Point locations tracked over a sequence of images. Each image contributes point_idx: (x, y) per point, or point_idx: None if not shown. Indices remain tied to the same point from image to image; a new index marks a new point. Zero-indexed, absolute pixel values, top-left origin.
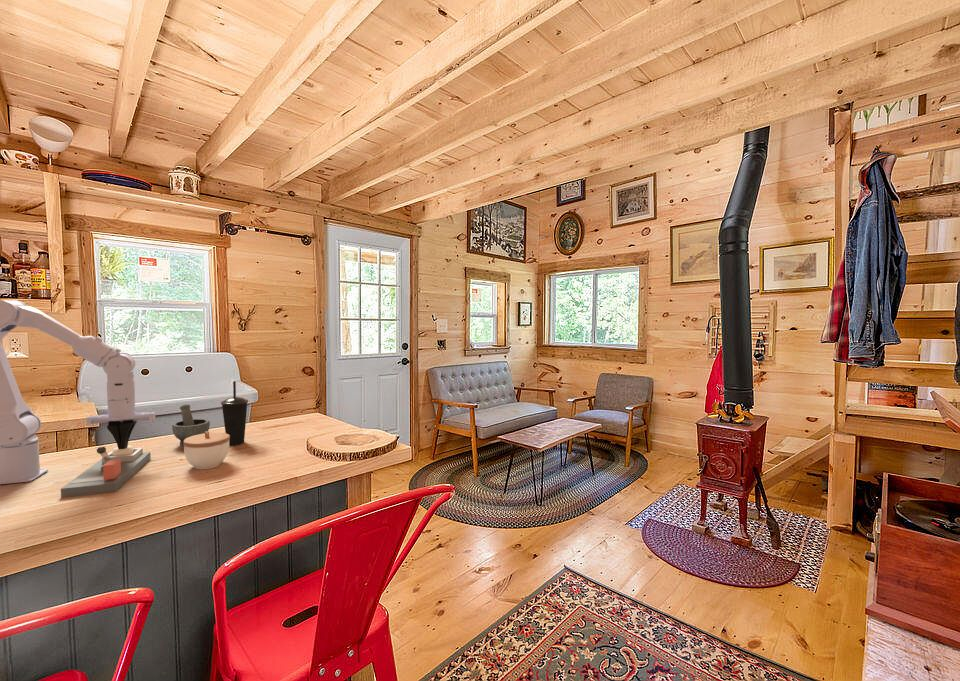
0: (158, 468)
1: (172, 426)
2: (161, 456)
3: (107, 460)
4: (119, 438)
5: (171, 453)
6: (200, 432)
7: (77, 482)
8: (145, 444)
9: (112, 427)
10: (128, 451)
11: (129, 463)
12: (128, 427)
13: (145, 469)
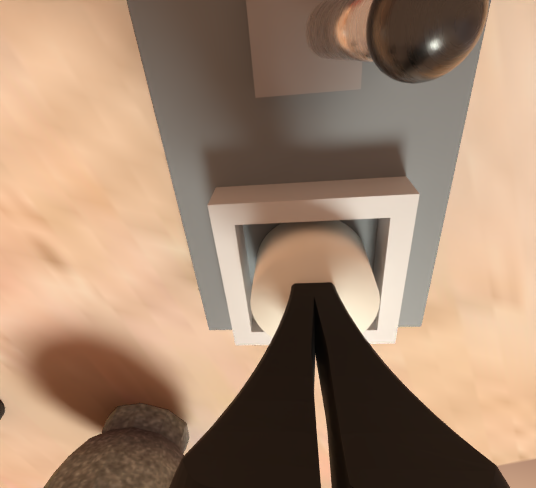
0: (72, 127)
1: None
2: (183, 322)
3: (326, 1)
4: (326, 346)
5: (161, 348)
6: (59, 467)
7: None
8: (324, 456)
9: (422, 478)
10: (263, 262)
11: (214, 129)
12: (192, 455)
13: (143, 127)
